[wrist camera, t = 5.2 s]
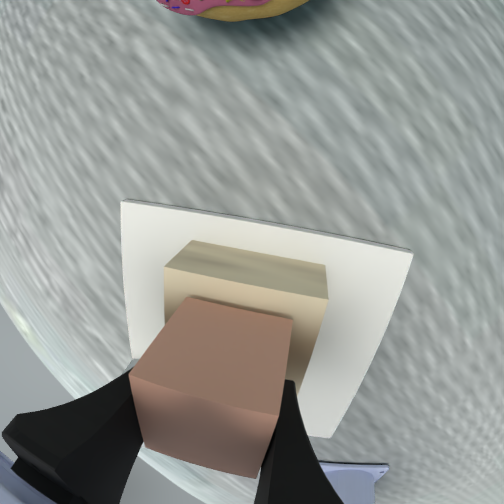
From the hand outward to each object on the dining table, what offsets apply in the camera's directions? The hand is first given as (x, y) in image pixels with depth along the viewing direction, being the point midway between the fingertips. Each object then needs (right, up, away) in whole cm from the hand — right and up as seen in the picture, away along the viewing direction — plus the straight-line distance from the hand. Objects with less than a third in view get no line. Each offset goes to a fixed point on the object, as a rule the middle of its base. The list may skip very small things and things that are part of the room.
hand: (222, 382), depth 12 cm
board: (+1, 0, +7) cm, 7 cm away
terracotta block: (0, +1, +2) cm, 2 cm away
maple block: (+1, +2, +5) cm, 6 cm away
